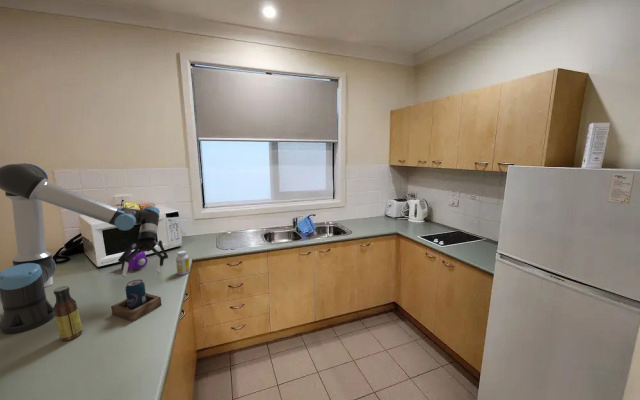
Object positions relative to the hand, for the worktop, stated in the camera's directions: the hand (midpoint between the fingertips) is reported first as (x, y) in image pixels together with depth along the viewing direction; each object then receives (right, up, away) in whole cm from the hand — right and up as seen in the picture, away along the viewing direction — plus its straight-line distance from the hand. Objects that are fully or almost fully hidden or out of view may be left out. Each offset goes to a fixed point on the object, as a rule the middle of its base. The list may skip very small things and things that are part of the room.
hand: (141, 274), depth 120 cm
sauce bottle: (-12, -18, -22) cm, 30 cm away
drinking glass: (-63, -11, +17) cm, 66 cm away
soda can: (+1, -14, -5) cm, 15 cm away
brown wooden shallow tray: (+1, -15, -5) cm, 15 cm away
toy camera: (-31, -8, +40) cm, 51 cm away
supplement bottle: (+2, -9, +33) cm, 34 cm away
